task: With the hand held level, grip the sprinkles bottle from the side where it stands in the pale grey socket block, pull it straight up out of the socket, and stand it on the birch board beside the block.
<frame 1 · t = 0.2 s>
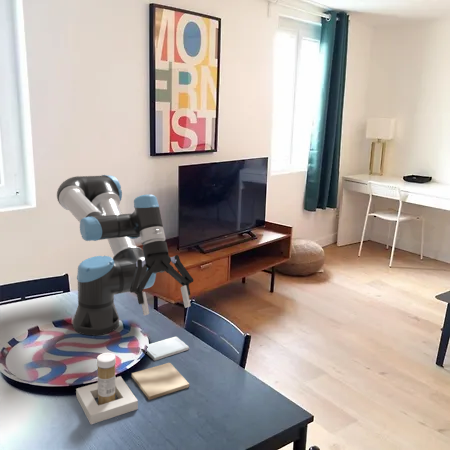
hand: (167, 310, 138), 15 cm above the table, tool tilted 35°, fingers open, 13 cm apart
hard drive: (165, 351, 146), on the table
birch board: (160, 381, 129), on the table
socket block: (106, 403, 118), on the table
sprinkles bottle: (106, 403, 118), resting in socket block
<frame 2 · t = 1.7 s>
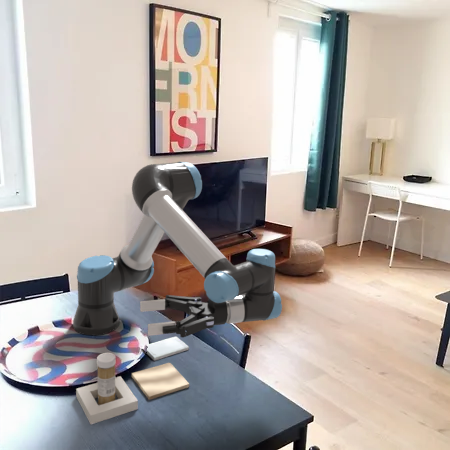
hand: (143, 317, 116), 23 cm above the table, tool horizontal, fingers open, 13 cm apart
nothing on the table moved.
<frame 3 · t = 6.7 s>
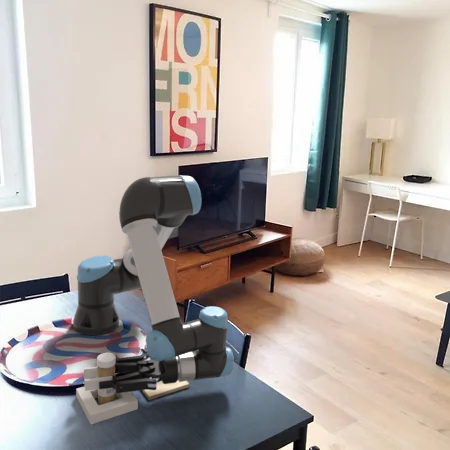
hand: (84, 379, 115), 8 cm above the table, tool horizontal, fingers closed on sprinkles bottle, 4 cm apart
sprinkles bottle: (106, 403, 118), resting in socket block, touching gripper
everything else where it was.
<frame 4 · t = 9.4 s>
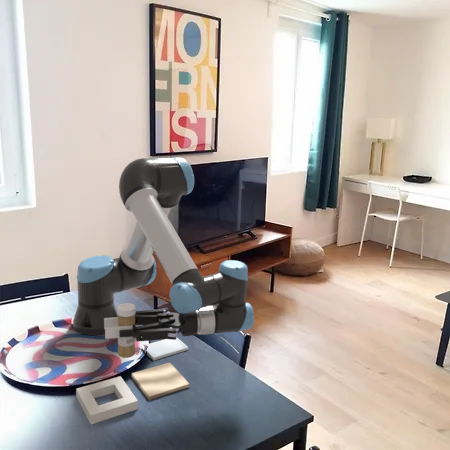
hand: (104, 328, 115), 20 cm above the table, tool horizontal, fingers closed on sprinkles bottle, 4 cm apart
sprinkles bottle: (126, 354, 119), point 12 cm above the table, touching gripper
everything else where it was.
when the fingers open (10 cm above the table, at t = 12.1 s): sprinkles bottle drops 1 cm, resting on birch board.
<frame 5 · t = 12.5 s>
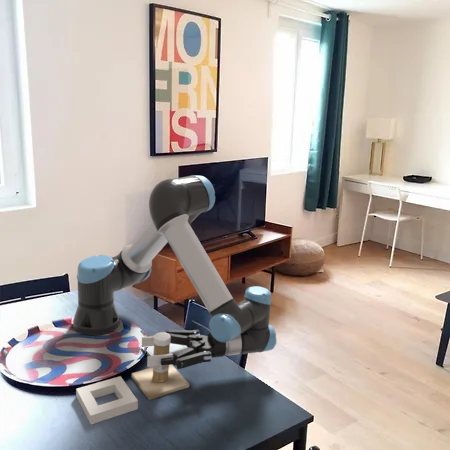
hand: (144, 351, 125), 10 cm above the table, tool horizontal, fingers open, 9 cm apart
sprinkles bottle: (160, 379, 128), point 1 cm above the table, touching birch board
everything else where it was.
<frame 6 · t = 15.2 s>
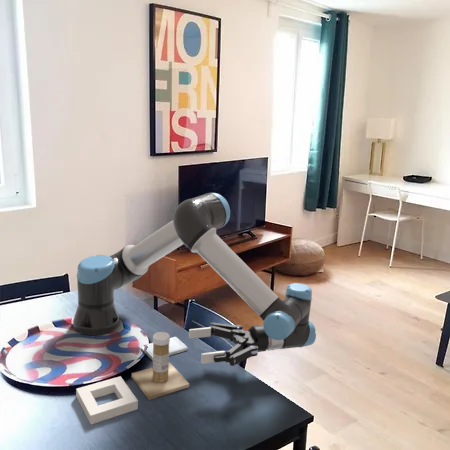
hand: (194, 345, 129), 10 cm above the table, tool horizontal, fingers open, 13 cm apart
nothing on the table moved.
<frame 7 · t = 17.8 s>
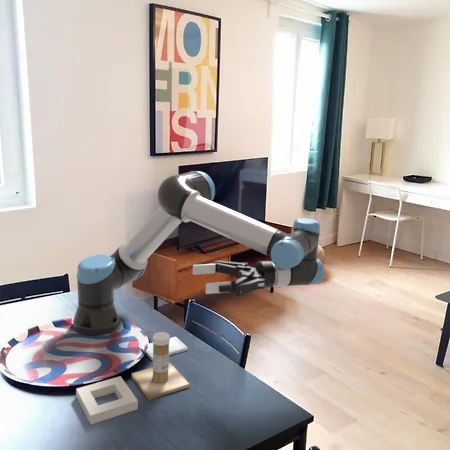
hand: (199, 278, 124), 30 cm above the table, tool horizontal, fingers open, 13 cm apart
nothing on the table moved.
at the end: sprinkles bottle inside the target area on the birch board (0.1 cm from its centre), point 0.8 cm above the birch board's base; sprinkles bottle tilted 0°; sprinkles bottle touching birch board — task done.
